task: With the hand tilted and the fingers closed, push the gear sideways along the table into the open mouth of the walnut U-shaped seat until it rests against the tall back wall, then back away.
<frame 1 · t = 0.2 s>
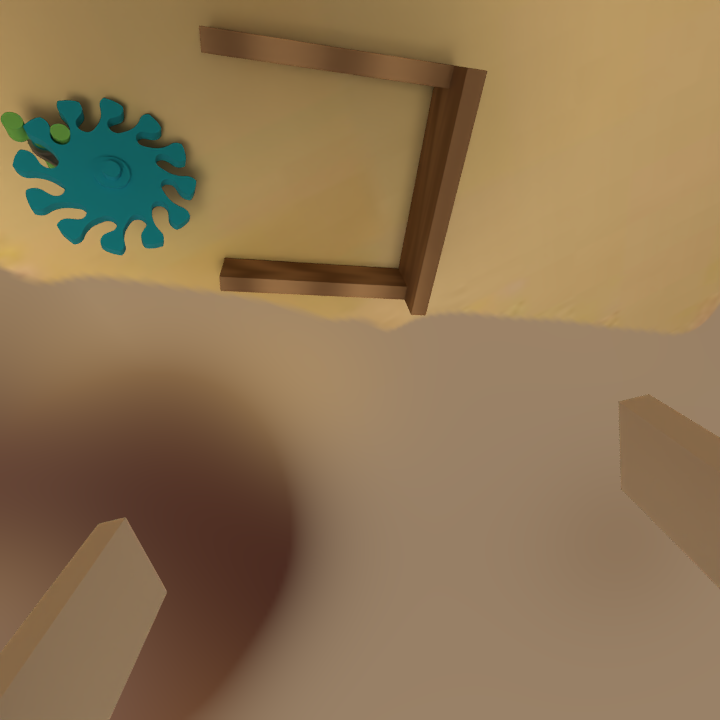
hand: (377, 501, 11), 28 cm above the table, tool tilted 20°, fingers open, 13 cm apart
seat: (320, 178, 32), on the table
gear: (123, 159, 30), on the table
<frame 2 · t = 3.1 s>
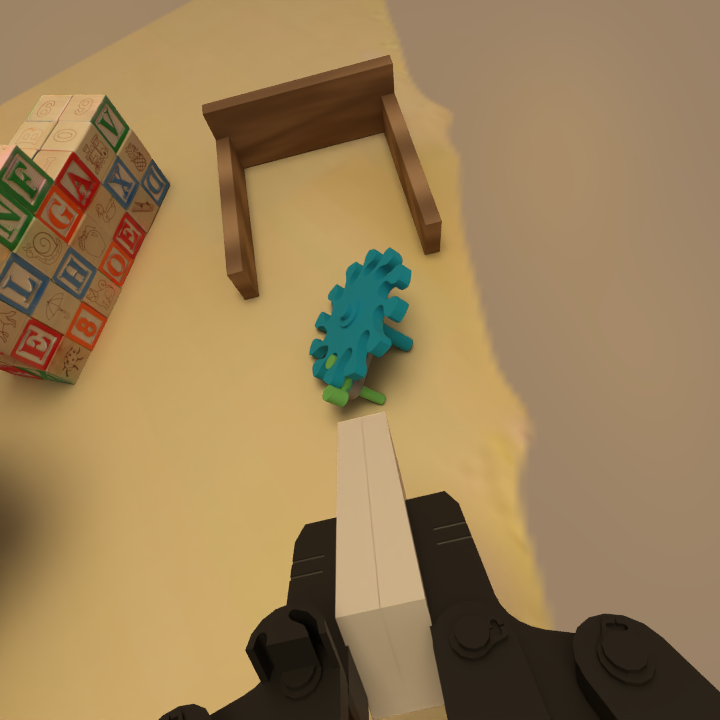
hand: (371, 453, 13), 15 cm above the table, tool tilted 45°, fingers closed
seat: (326, 207, 37), on the table
stack of blocks: (101, 273, 38), on the table
gear: (361, 348, 32), on the table
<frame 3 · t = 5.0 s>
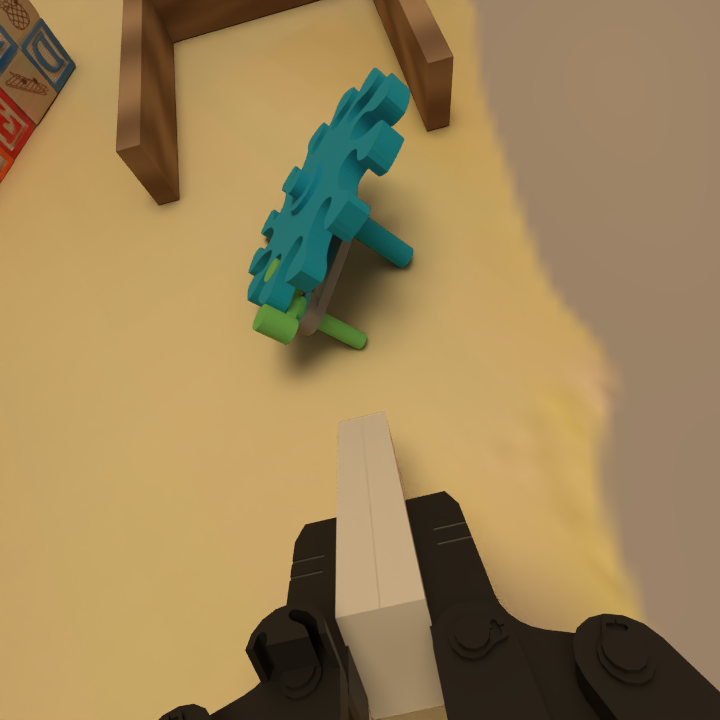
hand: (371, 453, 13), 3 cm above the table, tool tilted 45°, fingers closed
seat: (283, 80, 26), on the table
gear: (332, 267, 20), on the table
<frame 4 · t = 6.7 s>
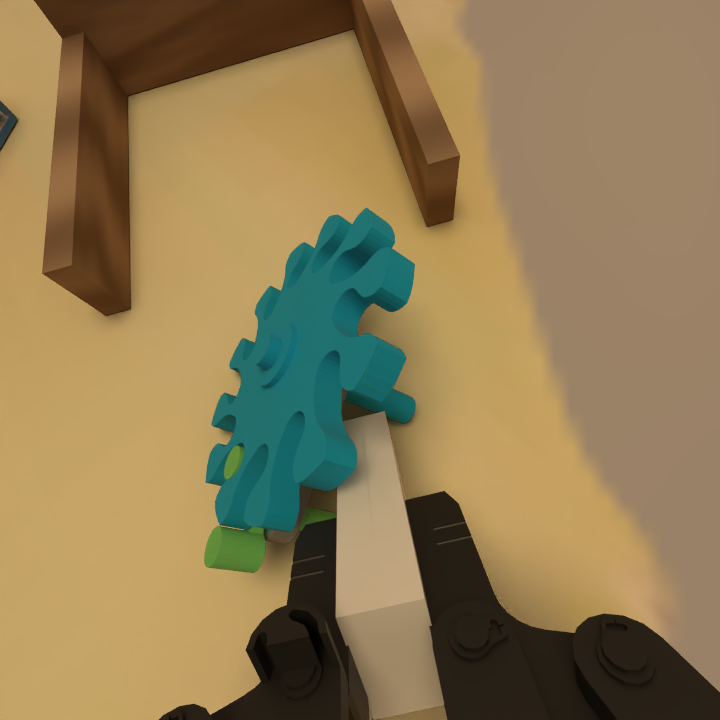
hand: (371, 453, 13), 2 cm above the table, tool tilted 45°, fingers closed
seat: (255, 151, 22), on the table
gear: (316, 410, 16), on the table, touching gripper
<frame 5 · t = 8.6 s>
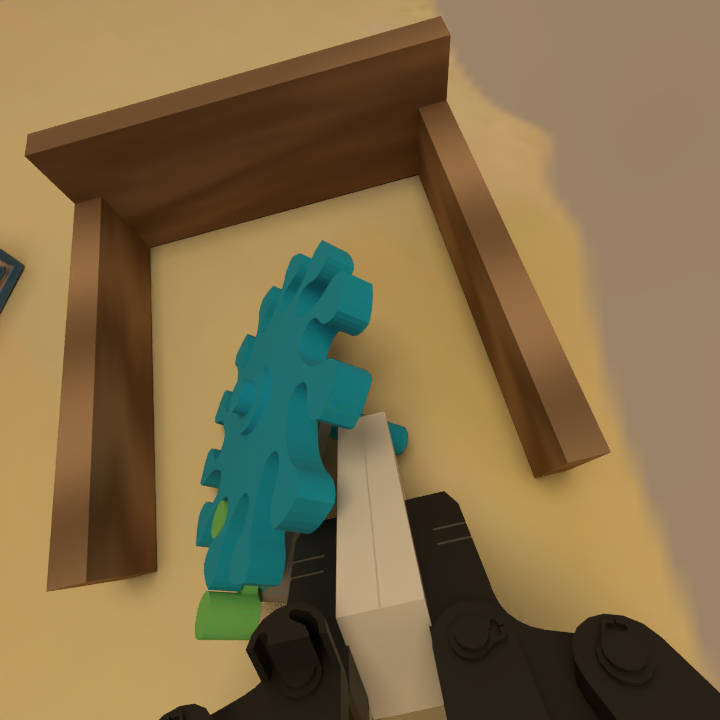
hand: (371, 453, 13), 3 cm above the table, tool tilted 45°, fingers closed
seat: (307, 342, 18), on the table
gear: (308, 454, 16), on the table
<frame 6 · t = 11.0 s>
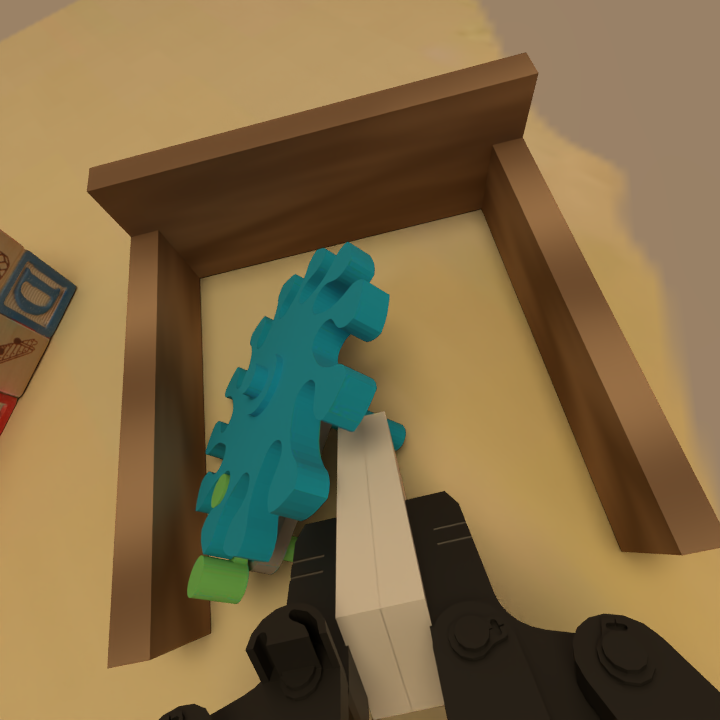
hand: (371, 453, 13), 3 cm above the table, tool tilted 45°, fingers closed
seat: (367, 387, 17), on the table
gear: (309, 438, 17), on the table, touching gripper
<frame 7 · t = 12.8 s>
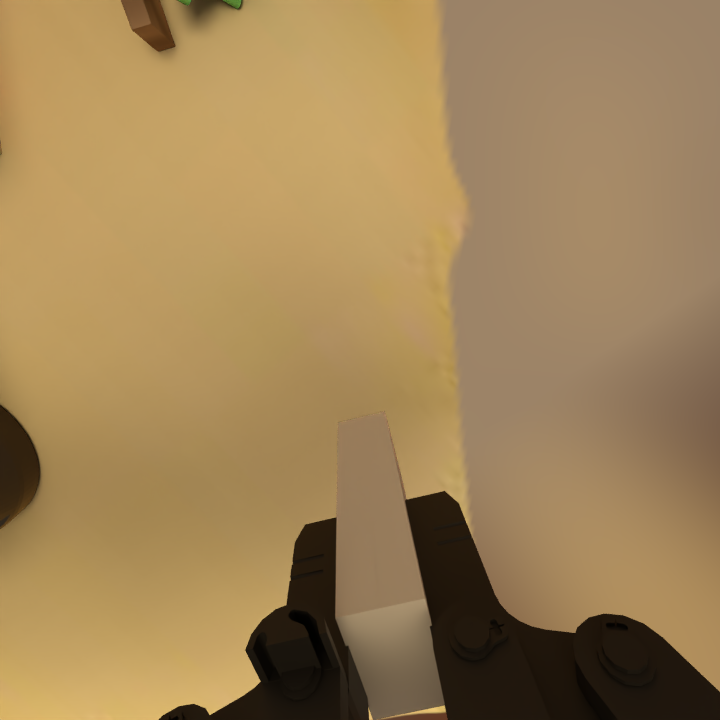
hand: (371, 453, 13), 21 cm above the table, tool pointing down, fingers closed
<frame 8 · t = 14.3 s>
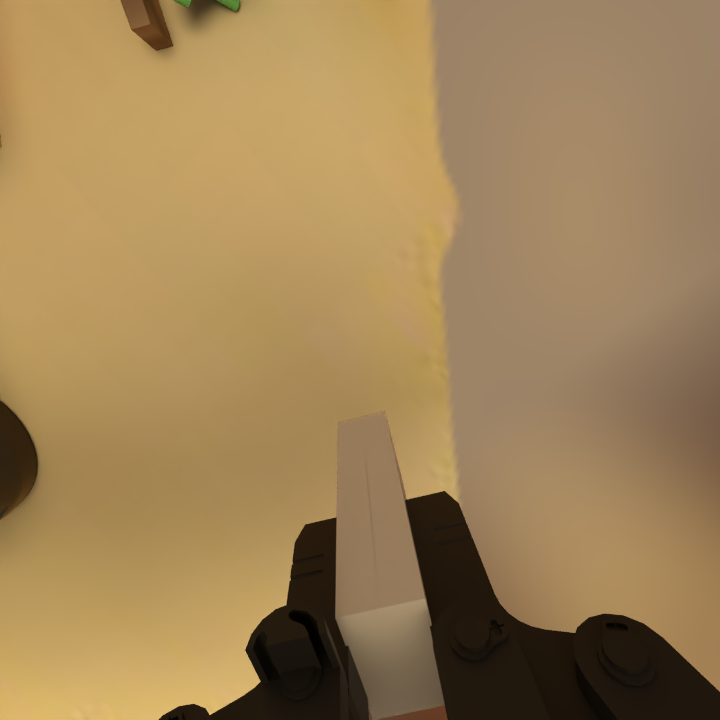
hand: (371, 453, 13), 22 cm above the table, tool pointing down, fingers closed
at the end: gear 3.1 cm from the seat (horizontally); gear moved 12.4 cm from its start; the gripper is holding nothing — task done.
